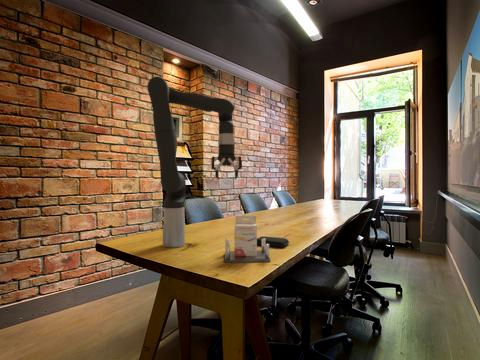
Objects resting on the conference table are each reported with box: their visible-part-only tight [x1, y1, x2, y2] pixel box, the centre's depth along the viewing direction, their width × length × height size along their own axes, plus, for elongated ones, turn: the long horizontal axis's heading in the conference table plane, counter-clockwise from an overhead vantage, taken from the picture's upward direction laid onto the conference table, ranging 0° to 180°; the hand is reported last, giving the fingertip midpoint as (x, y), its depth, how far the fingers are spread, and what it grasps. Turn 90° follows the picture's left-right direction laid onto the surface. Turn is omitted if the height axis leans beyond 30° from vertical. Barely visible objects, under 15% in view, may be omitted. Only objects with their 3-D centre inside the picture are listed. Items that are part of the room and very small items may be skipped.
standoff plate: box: [224, 238, 271, 264], centre depth 107 cm, size 16×12×6 cm
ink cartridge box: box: [233, 215, 258, 256], centre depth 107 cm, size 9×5×15 cm, turn 88°
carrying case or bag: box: [257, 235, 290, 249], centre depth 128 cm, size 11×3×15 cm
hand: (226, 178), depth 132 cm, fingers open, 8 cm apart
